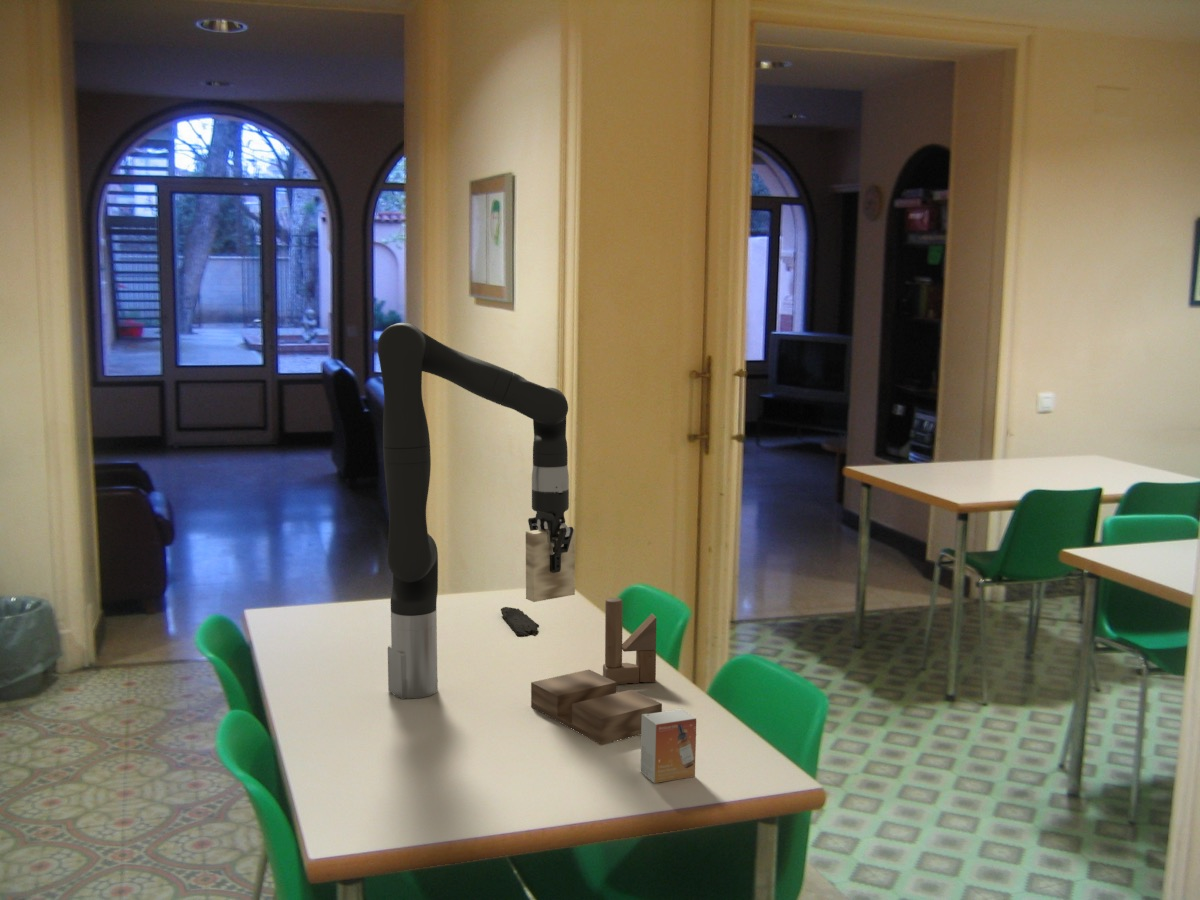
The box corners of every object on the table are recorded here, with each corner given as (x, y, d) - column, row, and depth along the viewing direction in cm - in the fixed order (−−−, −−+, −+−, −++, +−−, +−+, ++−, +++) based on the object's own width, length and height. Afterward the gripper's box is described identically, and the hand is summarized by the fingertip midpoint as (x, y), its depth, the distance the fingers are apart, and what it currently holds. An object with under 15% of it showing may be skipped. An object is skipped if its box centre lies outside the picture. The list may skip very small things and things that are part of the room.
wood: (547, 636, 283) (548, 624, 283) (517, 639, 281) (517, 626, 280) (525, 612, 304) (525, 601, 304) (497, 614, 302) (497, 603, 301)
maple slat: (533, 602, 239) (533, 534, 237) (525, 598, 241) (525, 531, 239) (574, 594, 245) (574, 528, 243) (566, 591, 247) (566, 525, 245)
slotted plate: (601, 745, 216) (601, 718, 215) (531, 706, 235) (531, 682, 234) (661, 728, 224) (661, 703, 223) (589, 692, 243) (589, 669, 242)
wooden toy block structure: (656, 682, 250) (657, 599, 247) (606, 686, 247) (606, 602, 245) (651, 677, 253) (652, 595, 251) (602, 680, 251) (603, 597, 248)
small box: (654, 784, 199) (654, 724, 198) (639, 772, 204) (640, 713, 203) (696, 777, 202) (697, 718, 201) (681, 764, 207) (682, 707, 206)
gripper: (516, 483, 243) (516, 566, 246) (553, 494, 232) (554, 580, 234) (546, 480, 248) (547, 561, 250) (585, 490, 236) (585, 574, 239)
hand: (550, 569), depth 242 cm, fingers closed on maple slat, 3 cm apart
